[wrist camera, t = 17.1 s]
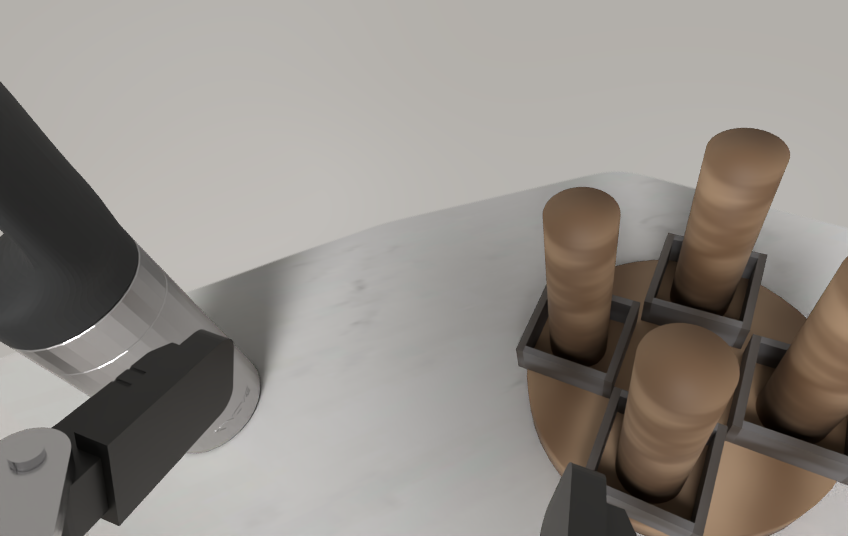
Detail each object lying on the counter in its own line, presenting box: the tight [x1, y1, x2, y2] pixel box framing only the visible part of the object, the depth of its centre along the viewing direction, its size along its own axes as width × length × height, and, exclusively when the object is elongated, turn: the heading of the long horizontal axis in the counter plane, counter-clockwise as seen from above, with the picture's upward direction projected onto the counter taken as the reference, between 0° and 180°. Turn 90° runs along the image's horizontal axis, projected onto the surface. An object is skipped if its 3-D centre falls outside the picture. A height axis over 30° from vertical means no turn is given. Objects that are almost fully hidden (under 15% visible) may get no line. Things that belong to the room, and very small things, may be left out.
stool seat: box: [516, 128, 848, 536], centre depth 33 cm, size 20×20×17 cm
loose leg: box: [615, 323, 740, 504], centre depth 28 cm, size 4×4×14 cm
